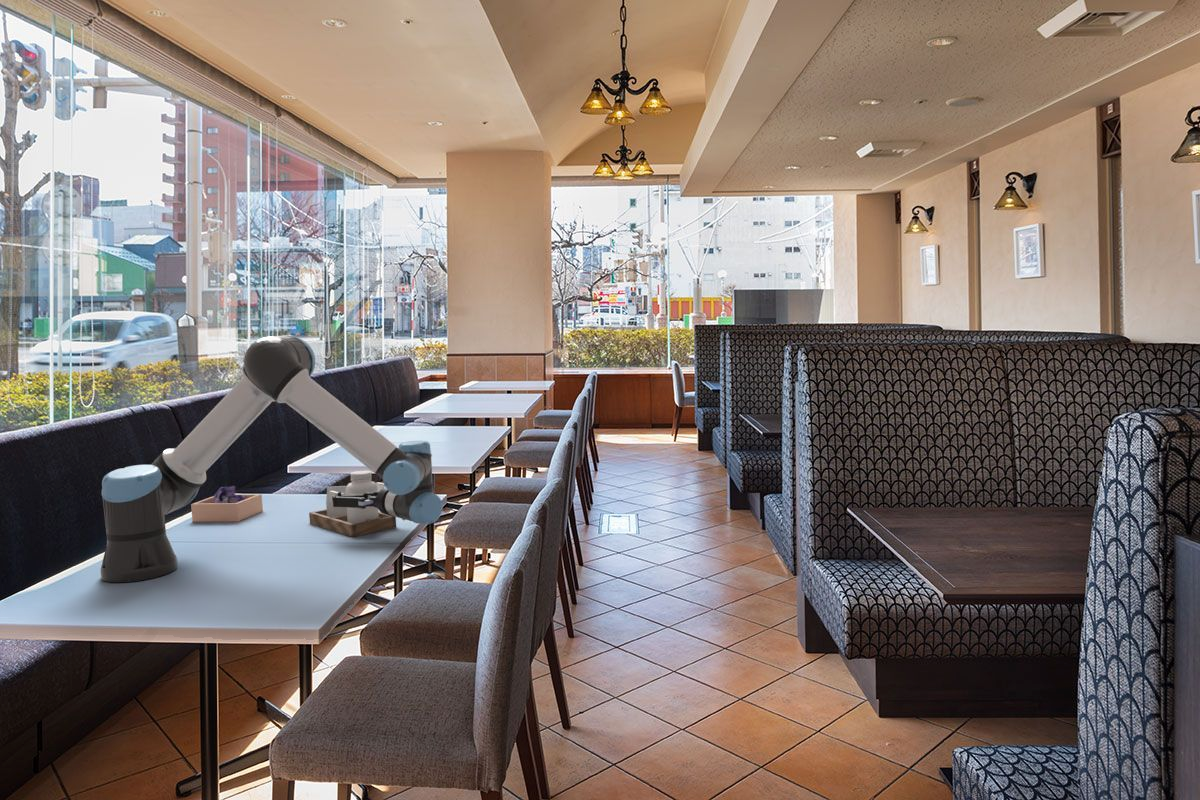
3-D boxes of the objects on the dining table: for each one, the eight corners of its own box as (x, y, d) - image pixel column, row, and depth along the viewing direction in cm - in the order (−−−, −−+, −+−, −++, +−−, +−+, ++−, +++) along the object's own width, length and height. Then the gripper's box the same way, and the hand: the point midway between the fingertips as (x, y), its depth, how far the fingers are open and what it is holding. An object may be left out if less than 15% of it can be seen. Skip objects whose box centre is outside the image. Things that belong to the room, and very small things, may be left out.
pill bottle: (381, 529, 224) (378, 473, 222) (349, 533, 221) (346, 476, 219) (377, 523, 231) (374, 468, 230) (346, 527, 228) (343, 471, 227)
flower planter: (238, 521, 240) (237, 503, 240) (192, 521, 242) (191, 504, 242) (262, 510, 253) (261, 494, 253) (218, 511, 255) (217, 494, 254)
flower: (195, 495, 246) (224, 479, 245) (215, 501, 254) (243, 486, 253) (201, 524, 243) (231, 508, 242) (222, 529, 251) (250, 514, 250)
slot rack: (396, 527, 226) (395, 514, 225) (353, 537, 217) (352, 523, 217) (351, 514, 243) (350, 503, 243) (309, 523, 234) (308, 511, 234)
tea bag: (352, 523, 232) (350, 487, 231) (327, 524, 232) (325, 488, 231) (356, 520, 236) (353, 484, 235) (331, 521, 236) (328, 485, 235)
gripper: (351, 526, 204) (310, 514, 219) (440, 507, 221) (396, 497, 236) (349, 495, 203) (308, 485, 218) (438, 478, 220) (395, 470, 235)
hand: (354, 491), depth 227 cm, fingers open, 13 cm apart
